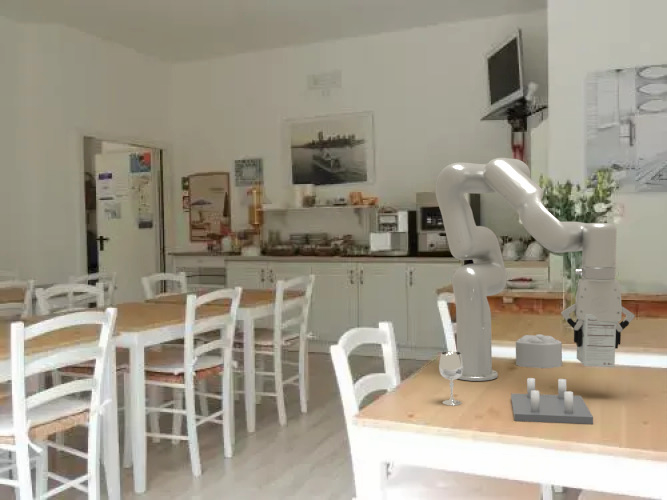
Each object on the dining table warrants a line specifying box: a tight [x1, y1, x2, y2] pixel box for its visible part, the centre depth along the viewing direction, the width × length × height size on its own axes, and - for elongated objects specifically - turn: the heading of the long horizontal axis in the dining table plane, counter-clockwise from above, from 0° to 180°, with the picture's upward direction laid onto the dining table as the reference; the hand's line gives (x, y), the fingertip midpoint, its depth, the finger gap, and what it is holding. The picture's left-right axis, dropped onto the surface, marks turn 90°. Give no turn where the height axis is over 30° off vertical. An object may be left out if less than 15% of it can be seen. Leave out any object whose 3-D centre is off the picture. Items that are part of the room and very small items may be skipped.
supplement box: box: [576, 314, 616, 368], centre depth 163 cm, size 7×7×13 cm
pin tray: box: [510, 377, 594, 425], centre depth 152 cm, size 16×18×6 cm
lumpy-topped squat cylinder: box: [515, 333, 563, 369], centre depth 202 cm, size 10×13×9 cm
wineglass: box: [438, 350, 464, 406], centre depth 160 cm, size 6×6×12 cm
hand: (596, 346), depth 162 cm, fingers closed on supplement box, 7 cm apart
